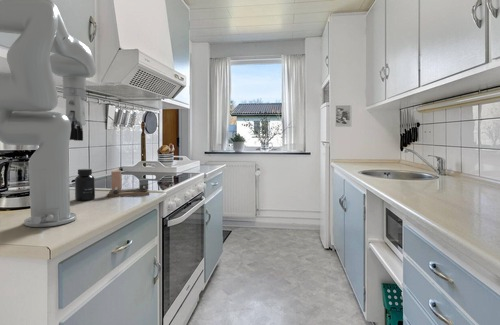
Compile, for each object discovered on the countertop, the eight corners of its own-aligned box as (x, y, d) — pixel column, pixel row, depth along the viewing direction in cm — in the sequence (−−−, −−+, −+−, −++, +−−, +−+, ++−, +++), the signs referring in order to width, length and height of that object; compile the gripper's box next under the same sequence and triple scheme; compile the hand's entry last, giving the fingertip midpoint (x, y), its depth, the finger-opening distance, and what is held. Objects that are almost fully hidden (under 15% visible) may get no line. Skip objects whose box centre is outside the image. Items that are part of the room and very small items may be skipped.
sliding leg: (120, 191, 124) (120, 172, 124) (111, 191, 123) (111, 172, 122) (121, 188, 130) (120, 170, 129) (112, 189, 129) (111, 170, 128)
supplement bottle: (89, 201, 114) (88, 170, 113) (71, 201, 114) (70, 170, 113) (98, 198, 121) (97, 168, 120) (81, 197, 121) (81, 168, 120)
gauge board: (149, 194, 129) (149, 180, 128) (108, 197, 123) (107, 182, 122) (148, 191, 137) (147, 178, 136) (109, 193, 131) (109, 179, 130)
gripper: (81, 91, 105) (82, 139, 106) (89, 98, 122) (90, 140, 122) (56, 89, 103) (58, 139, 104) (68, 97, 119) (69, 140, 120)
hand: (75, 140), depth 113 cm, fingers open, 9 cm apart
